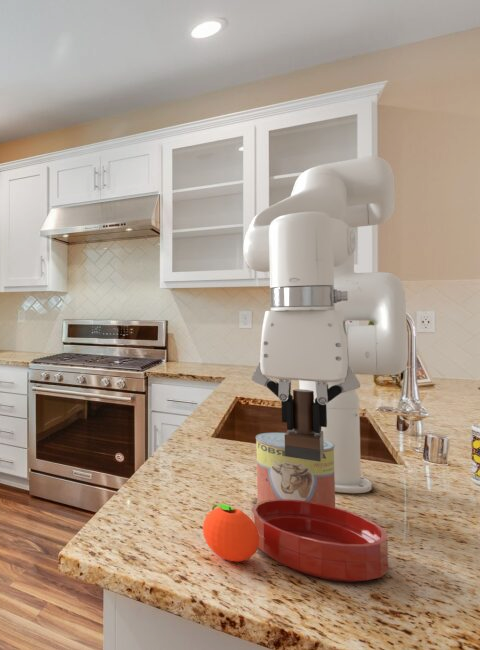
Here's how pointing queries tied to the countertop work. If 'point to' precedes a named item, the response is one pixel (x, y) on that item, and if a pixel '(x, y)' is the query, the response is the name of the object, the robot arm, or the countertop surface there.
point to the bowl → (321, 539)
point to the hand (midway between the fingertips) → (304, 428)
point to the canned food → (293, 472)
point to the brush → (304, 429)
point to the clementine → (230, 533)
